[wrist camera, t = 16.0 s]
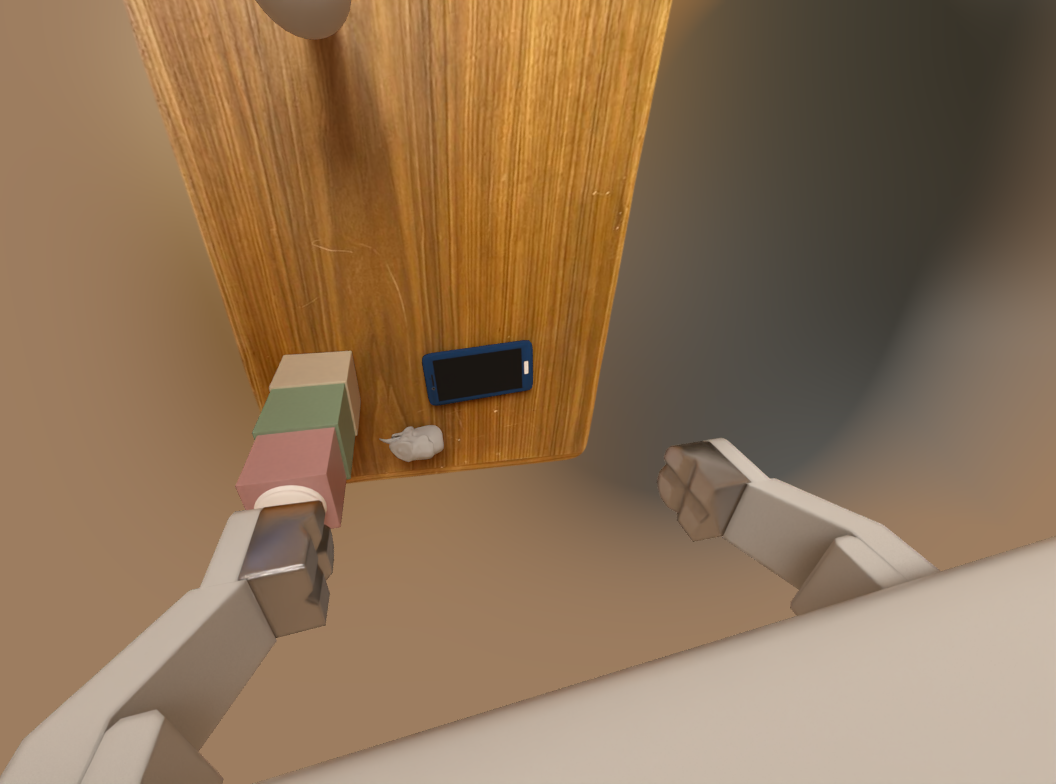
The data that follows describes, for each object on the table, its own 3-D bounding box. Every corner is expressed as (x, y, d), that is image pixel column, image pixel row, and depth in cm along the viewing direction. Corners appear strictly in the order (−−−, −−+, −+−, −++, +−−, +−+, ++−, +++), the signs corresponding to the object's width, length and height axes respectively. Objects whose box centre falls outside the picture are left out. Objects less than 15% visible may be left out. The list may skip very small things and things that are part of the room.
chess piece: (336, 492, 32) (318, 615, 24) (314, 534, 34) (291, 663, 26) (265, 478, 30) (218, 610, 21) (246, 524, 31) (196, 663, 23)
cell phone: (531, 386, 56) (533, 389, 56) (429, 404, 53) (430, 407, 53) (531, 338, 52) (533, 341, 52) (420, 354, 49) (421, 357, 49)
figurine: (440, 442, 57) (443, 465, 53) (379, 443, 55) (378, 468, 51) (442, 420, 55) (446, 442, 51) (379, 420, 53) (379, 444, 49)
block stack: (283, 354, 45) (224, 482, 29) (351, 350, 47) (332, 467, 31) (298, 407, 49) (253, 546, 32) (361, 401, 50) (348, 530, 34)
